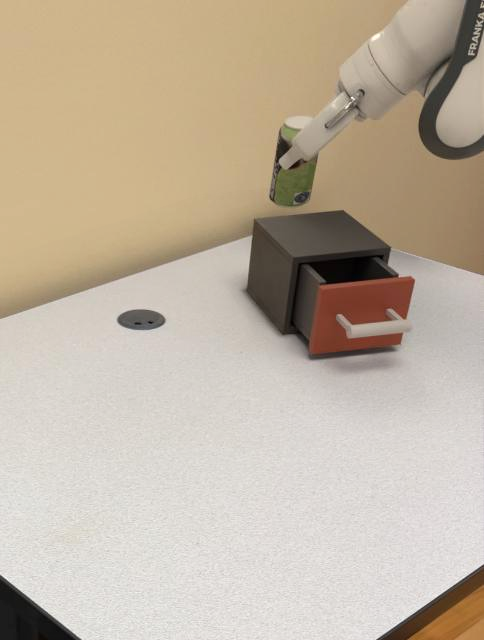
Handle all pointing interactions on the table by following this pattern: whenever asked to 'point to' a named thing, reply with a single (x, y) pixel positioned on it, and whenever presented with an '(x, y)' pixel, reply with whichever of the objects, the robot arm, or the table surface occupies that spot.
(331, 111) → the robot arm
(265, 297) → the cabinet
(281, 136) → the beverage can
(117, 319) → the table surface
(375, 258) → the drawer
